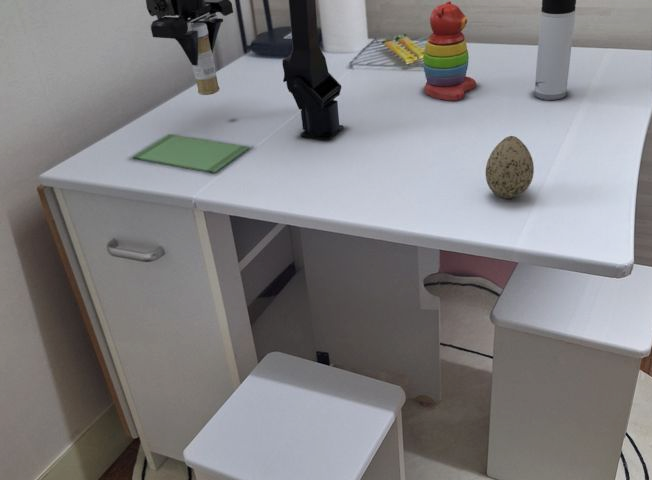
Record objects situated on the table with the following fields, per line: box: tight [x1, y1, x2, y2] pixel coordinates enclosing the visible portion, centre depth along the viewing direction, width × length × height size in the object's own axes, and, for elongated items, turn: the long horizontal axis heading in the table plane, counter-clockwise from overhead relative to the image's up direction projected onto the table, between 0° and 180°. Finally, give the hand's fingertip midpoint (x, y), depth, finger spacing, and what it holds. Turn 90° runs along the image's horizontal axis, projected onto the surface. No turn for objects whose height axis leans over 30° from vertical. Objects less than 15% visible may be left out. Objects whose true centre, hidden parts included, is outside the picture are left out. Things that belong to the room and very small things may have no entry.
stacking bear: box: [422, 0, 477, 102], centre depth 143 cm, size 11×10×18 cm
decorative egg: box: [485, 135, 535, 200], centre depth 106 cm, size 7×7×10 cm
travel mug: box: [533, 0, 577, 101], centre depth 135 cm, size 6×7×20 cm
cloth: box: [132, 134, 250, 174], centre depth 133 cm, size 20×11×1 cm, turn 60°
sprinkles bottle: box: [191, 23, 221, 96], centre depth 139 cm, size 5×5×14 cm
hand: (201, 61), depth 139 cm, fingers closed on sprinkles bottle, 4 cm apart
